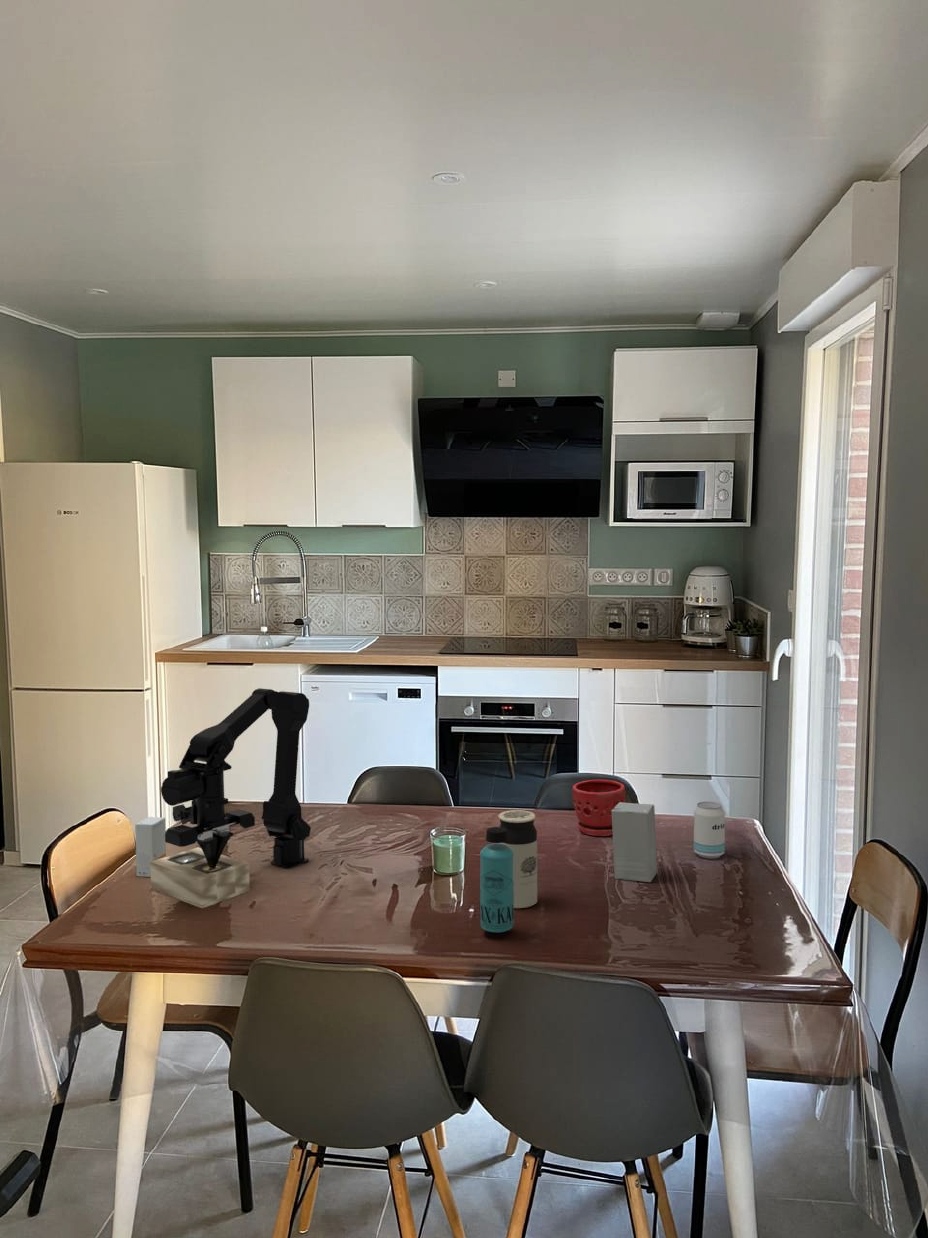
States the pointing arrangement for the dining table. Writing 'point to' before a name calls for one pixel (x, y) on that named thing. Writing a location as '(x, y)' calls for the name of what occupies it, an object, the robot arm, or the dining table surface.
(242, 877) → the collar block
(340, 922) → the dining table surface
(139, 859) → the skincare box
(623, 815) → the skincare box
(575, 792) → the plant pot
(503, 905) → the beverage bottle
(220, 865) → the brass peg
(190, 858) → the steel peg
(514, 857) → the travel mug
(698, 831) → the beverage can
